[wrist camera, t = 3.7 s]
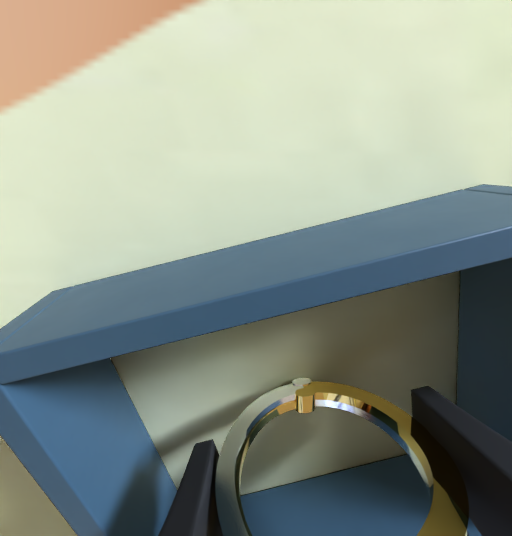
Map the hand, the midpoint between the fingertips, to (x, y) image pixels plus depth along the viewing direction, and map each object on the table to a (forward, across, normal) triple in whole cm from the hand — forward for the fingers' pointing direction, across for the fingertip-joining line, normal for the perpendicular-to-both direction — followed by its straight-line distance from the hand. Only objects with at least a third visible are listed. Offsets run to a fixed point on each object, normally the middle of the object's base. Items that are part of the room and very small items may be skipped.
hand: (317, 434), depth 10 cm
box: (+2, 0, 0) cm, 2 cm away
